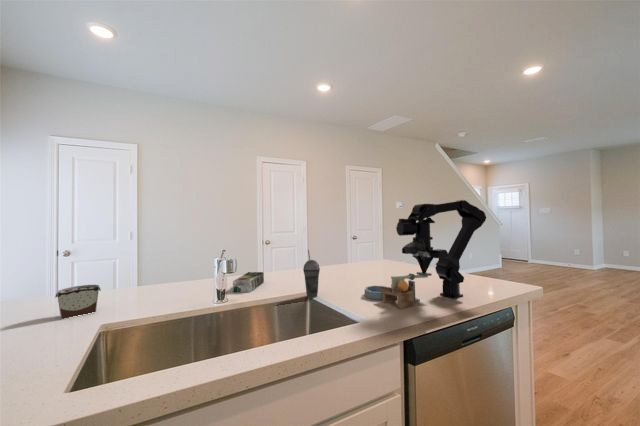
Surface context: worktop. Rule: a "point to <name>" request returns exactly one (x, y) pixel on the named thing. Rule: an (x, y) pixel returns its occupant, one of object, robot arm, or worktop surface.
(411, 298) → the ramp
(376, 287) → the bowl
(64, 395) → the worktop surface
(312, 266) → the beverage cup
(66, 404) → the worktop surface
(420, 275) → the lever
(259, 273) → the juice carton
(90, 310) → the food container
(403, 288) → the ball
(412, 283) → the lever post
